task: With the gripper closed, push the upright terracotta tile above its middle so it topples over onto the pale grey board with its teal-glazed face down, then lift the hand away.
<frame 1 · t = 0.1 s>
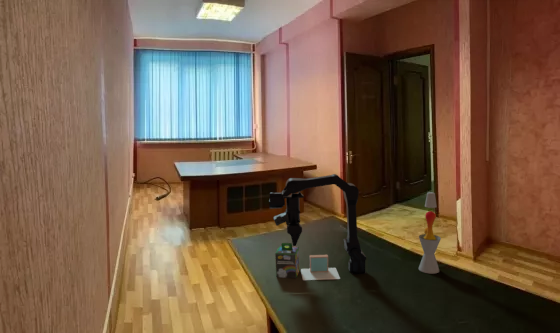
hand: (293, 242, 166), 15 cm above the table, fingers open, 9 cm apart
tile: (318, 270, 169), resting on board
lava lamp: (428, 270, 169), on the table
chalk box: (287, 274, 168), on the table
board: (319, 274, 167), on the table
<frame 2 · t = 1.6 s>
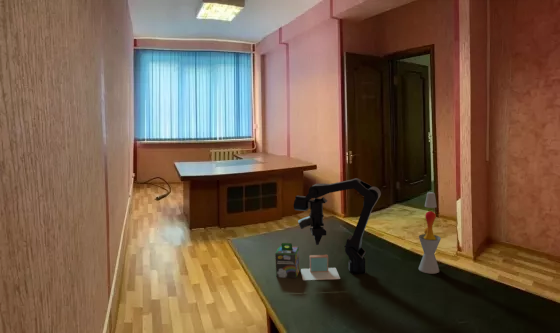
hand: (317, 244, 175), 10 cm above the table, fingers closed
nothing on the table moved.
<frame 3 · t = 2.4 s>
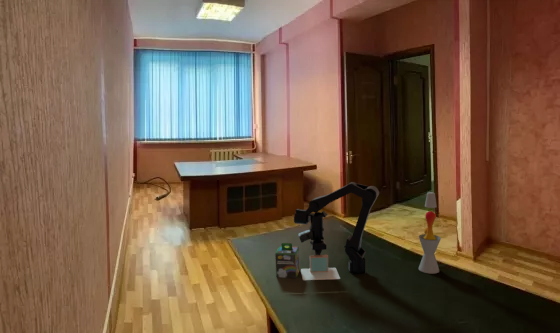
hand: (317, 258, 175), 4 cm above the table, fingers closed
nothing on the table moved.
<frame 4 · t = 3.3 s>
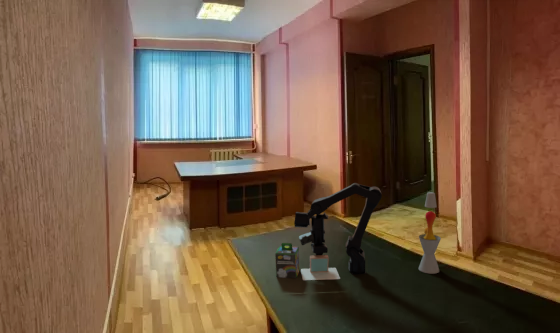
hand: (318, 261, 171), 4 cm above the table, fingers closed
tile: (318, 270, 169), point 1 cm above the table, tilted 8°, touching board
everything else where it was.
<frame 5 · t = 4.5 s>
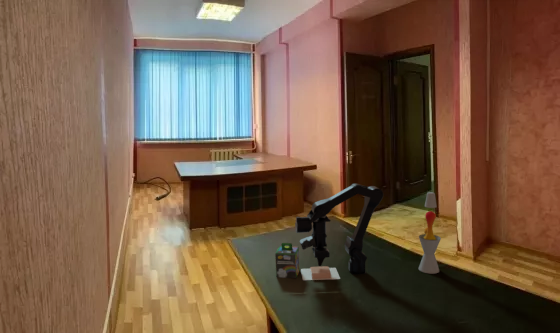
hand: (319, 265, 166), 4 cm above the table, fingers closed
tile: (319, 269, 168), point 2 cm above the table, tilted 90°, touching board
everything else where it was.
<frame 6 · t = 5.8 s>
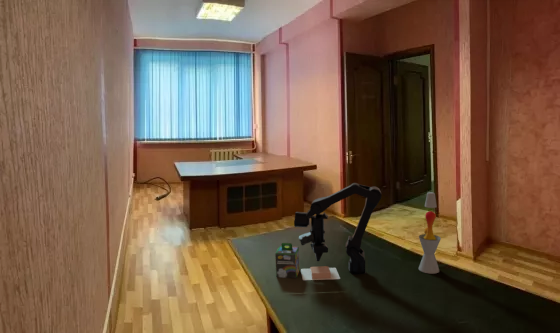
hand: (317, 261, 171), 4 cm above the table, fingers closed
nothing on the table moved.
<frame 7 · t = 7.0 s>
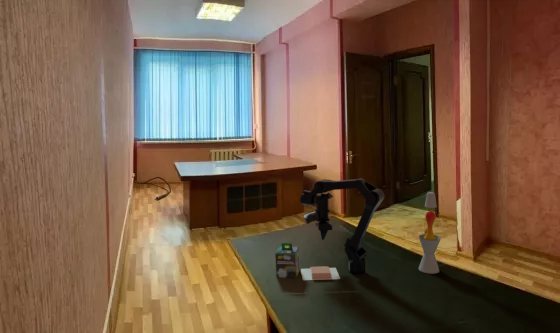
hand: (322, 239, 176), 12 cm above the table, fingers closed
nothing on the table moved.
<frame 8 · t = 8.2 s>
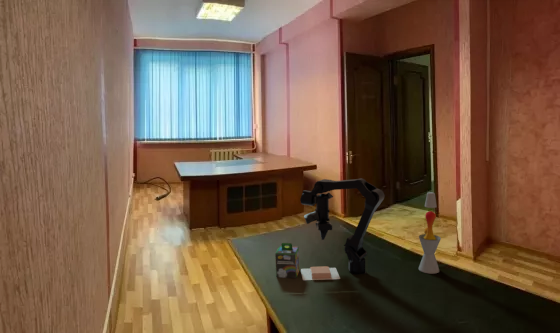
hand: (322, 239, 176), 12 cm above the table, fingers closed
nothing on the table moved.
at the end: tile tilted 90°; tile inside the target area (1.7 cm from its centre), point 1.7 cm above the table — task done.
